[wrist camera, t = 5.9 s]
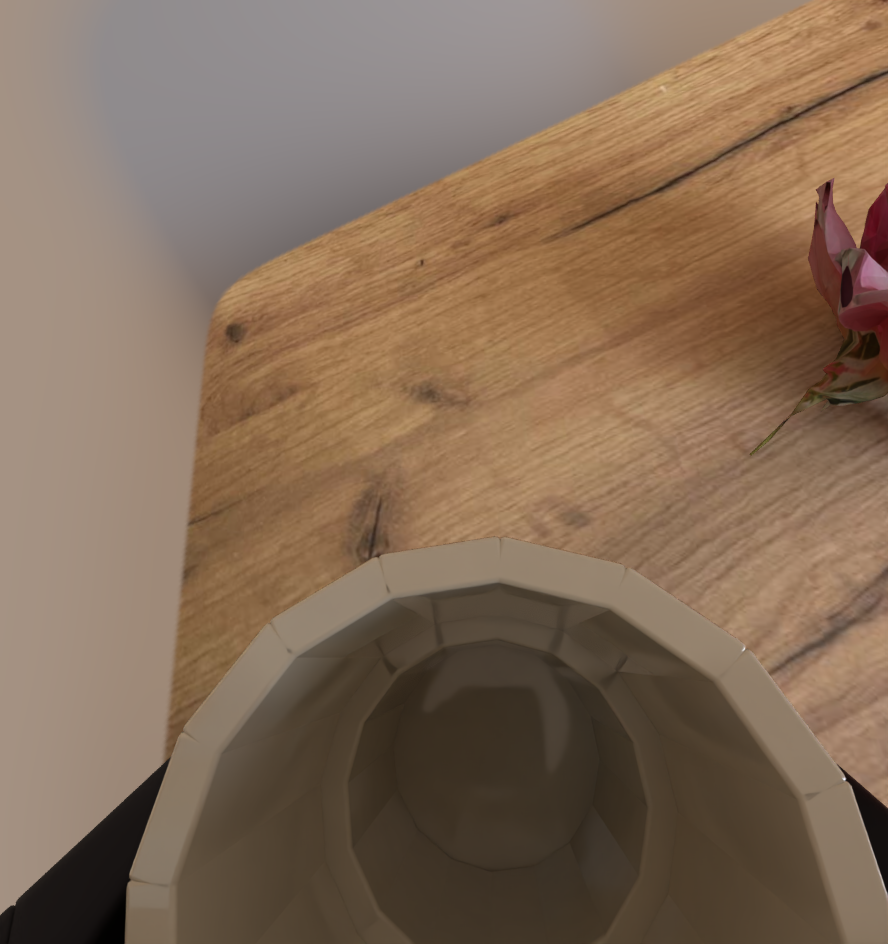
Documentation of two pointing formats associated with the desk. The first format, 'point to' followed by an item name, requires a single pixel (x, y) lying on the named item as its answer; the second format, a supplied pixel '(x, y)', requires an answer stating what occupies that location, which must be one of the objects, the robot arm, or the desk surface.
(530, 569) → the beige cylindrical cup
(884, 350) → the flower
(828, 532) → the desk surface
